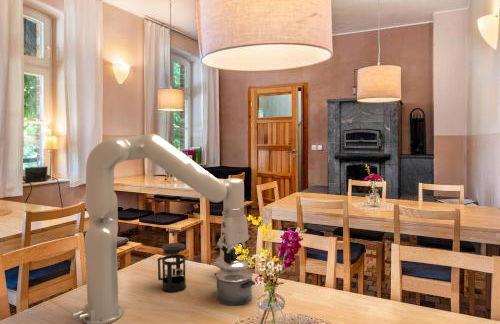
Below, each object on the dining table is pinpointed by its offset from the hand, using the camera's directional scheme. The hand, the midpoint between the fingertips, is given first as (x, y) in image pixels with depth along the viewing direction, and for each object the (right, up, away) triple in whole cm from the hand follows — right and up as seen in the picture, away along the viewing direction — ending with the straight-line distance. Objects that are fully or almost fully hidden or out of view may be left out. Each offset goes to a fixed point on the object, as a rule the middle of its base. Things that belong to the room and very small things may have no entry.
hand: (234, 259), depth 132 cm
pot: (0, -14, +1) cm, 14 cm away
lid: (0, -1, 0) cm, 1 cm away
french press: (-25, -14, +10) cm, 30 cm away
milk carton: (-2, -13, +19) cm, 23 cm away
